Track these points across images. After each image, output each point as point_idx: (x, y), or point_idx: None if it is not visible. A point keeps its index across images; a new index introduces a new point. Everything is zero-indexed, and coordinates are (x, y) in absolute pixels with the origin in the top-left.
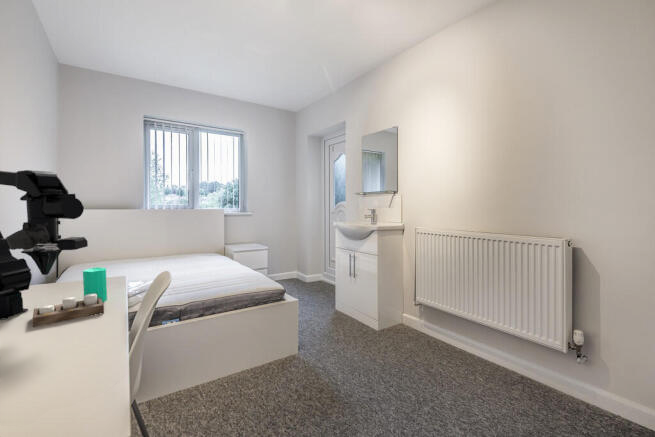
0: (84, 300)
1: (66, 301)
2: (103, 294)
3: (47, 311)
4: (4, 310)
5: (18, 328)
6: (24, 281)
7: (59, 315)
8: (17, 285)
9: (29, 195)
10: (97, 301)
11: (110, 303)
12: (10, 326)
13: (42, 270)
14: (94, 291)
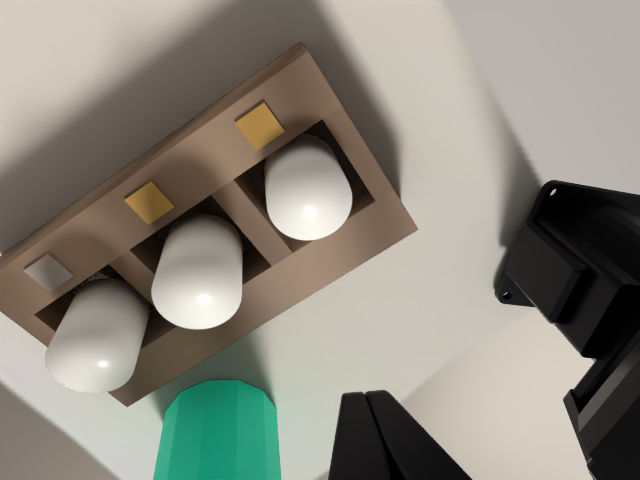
0: (123, 316)
1: (188, 254)
2: (159, 452)
3: (280, 163)
4: (584, 225)
5: (384, 32)
6: (604, 409)
7: (182, 137)
8: (626, 361)
9: None
10: None
11: None
12: (453, 73)
13: (389, 438)
14: (186, 453)
